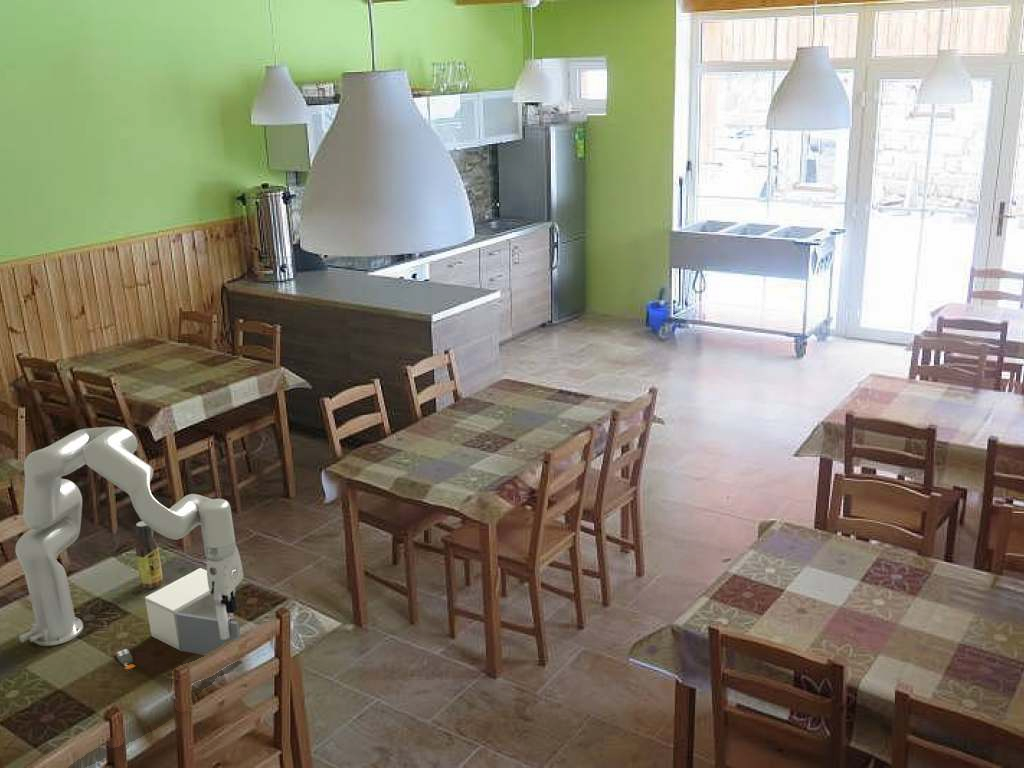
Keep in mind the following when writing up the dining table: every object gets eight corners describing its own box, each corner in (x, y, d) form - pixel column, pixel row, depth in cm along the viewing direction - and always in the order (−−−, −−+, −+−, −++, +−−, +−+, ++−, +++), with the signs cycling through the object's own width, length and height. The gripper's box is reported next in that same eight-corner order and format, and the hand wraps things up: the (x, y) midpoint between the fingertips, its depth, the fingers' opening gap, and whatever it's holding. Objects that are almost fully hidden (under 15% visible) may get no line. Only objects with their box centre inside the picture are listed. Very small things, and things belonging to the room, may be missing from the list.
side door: (173, 655, 250) (164, 600, 244) (181, 647, 253) (172, 593, 247) (236, 666, 245) (228, 610, 239) (243, 658, 248) (236, 602, 242)
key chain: (114, 656, 252) (113, 651, 251) (128, 651, 254) (127, 646, 253) (128, 680, 242) (127, 675, 241) (143, 675, 244) (142, 670, 243)
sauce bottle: (156, 590, 281) (145, 530, 275) (137, 588, 282) (126, 528, 276) (168, 579, 287) (158, 519, 281) (149, 577, 289) (138, 518, 282)
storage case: (179, 650, 253) (173, 610, 249) (151, 635, 259) (144, 597, 255) (233, 617, 267) (228, 579, 263) (205, 604, 273) (200, 567, 269)
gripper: (220, 563, 232) (229, 629, 238) (247, 534, 246) (256, 596, 252) (191, 561, 233) (201, 626, 239) (220, 532, 247) (229, 594, 253)
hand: (229, 611), depth 246 cm, fingers closed
